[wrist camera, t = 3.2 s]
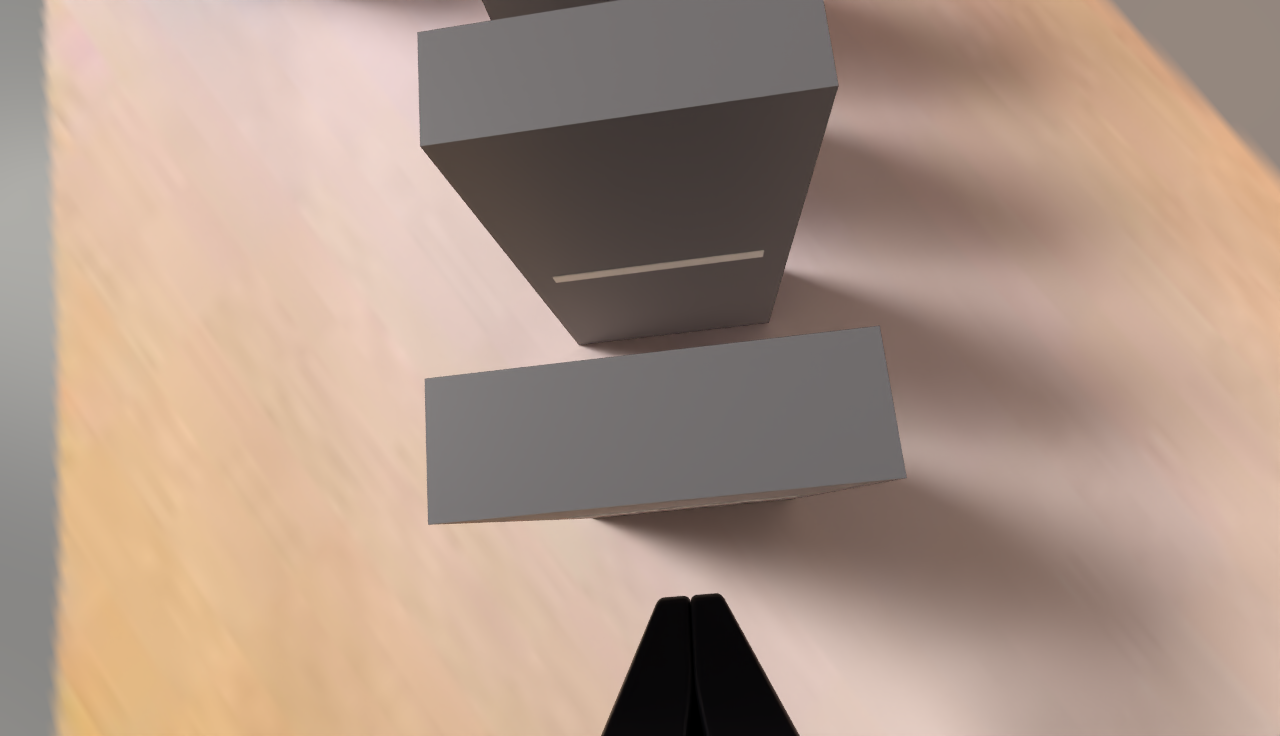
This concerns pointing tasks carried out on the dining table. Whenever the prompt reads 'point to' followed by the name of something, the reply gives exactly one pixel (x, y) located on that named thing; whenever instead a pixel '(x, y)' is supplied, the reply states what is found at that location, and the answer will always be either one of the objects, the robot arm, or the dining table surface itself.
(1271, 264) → the dining table surface
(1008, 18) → the dining table surface
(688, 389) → the domino
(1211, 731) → the dining table surface
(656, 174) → the domino
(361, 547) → the dining table surface
